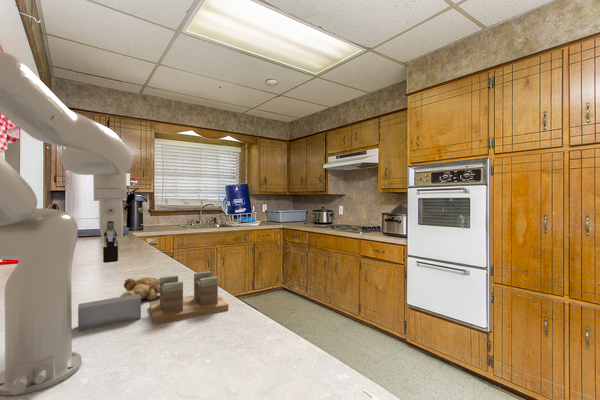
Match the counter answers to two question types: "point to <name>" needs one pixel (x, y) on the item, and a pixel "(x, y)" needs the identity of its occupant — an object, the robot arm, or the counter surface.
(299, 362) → the counter surface
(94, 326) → the bracket bar
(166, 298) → the post rig
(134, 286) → the ginger root
